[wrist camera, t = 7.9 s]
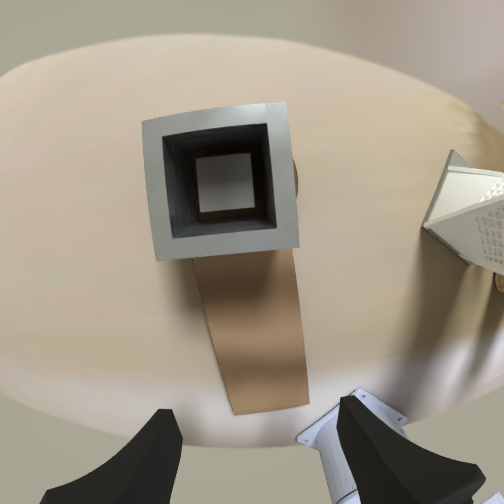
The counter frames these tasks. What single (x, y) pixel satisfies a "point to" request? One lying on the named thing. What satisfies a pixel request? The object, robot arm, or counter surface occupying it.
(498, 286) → the sprinkles bottle
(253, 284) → the walnut base
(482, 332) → the counter surface
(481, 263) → the skyscraper
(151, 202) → the steel collar
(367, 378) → the counter surface
